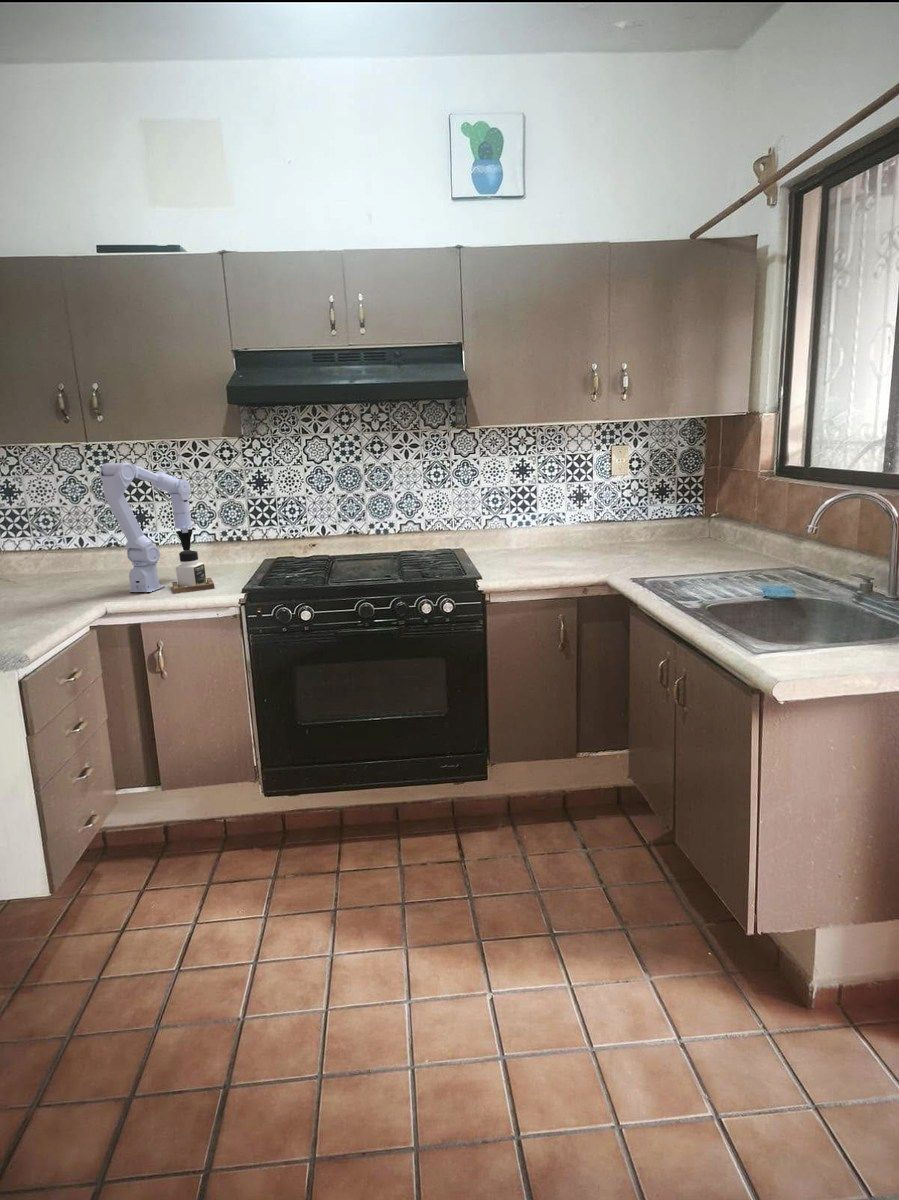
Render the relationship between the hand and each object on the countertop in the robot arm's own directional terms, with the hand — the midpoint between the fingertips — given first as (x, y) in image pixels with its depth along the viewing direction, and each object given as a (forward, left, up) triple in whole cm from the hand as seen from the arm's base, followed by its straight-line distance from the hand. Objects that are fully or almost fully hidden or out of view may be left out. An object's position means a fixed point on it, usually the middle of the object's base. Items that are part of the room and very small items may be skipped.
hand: (186, 550), depth 279 cm
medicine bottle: (-10, -7, -11) cm, 16 cm away
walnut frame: (-14, -9, -10) cm, 20 cm away
